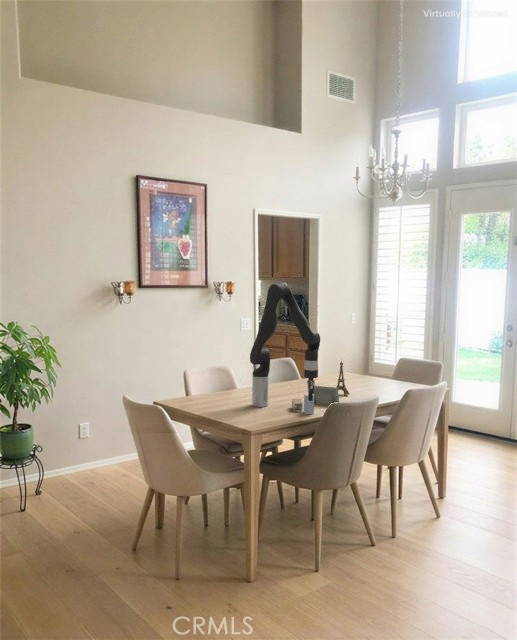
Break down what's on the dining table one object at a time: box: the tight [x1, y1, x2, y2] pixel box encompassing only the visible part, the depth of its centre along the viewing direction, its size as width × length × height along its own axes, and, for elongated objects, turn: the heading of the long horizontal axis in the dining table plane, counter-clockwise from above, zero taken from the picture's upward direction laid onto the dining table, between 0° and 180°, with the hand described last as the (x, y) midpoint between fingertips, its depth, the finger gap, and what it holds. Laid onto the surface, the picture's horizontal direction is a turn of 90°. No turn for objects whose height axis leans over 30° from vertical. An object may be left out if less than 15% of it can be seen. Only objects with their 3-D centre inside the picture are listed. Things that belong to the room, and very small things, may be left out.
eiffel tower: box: [336, 360, 351, 398], centre depth 357 cm, size 11×11×25 cm
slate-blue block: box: [303, 393, 315, 415], centre depth 305 cm, size 5×5×10 cm
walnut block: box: [291, 398, 303, 412], centre depth 313 cm, size 5×5×10 cm
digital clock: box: [313, 385, 340, 406], centre depth 329 cm, size 16×9×11 cm, turn 55°
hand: (310, 400), depth 297 cm, fingers closed
